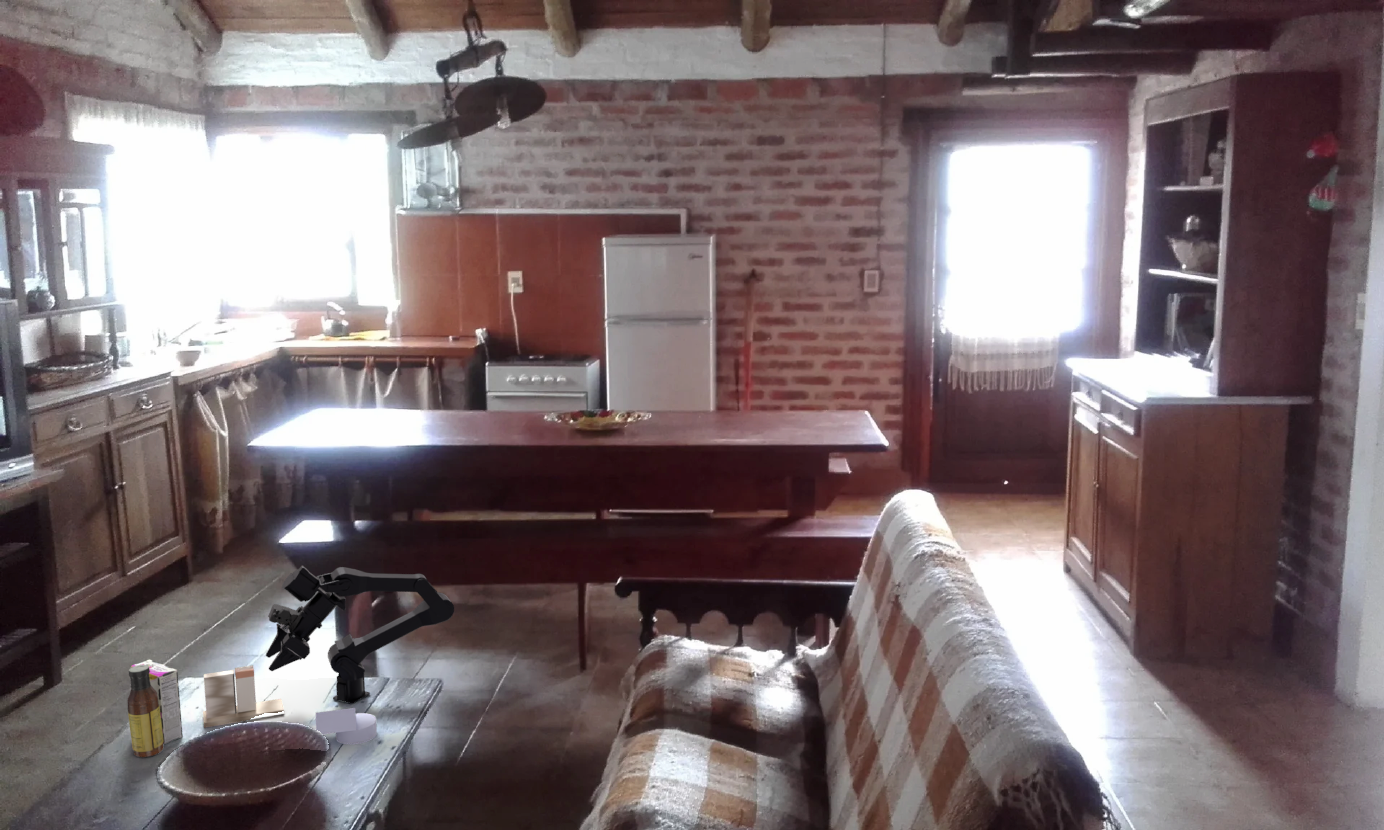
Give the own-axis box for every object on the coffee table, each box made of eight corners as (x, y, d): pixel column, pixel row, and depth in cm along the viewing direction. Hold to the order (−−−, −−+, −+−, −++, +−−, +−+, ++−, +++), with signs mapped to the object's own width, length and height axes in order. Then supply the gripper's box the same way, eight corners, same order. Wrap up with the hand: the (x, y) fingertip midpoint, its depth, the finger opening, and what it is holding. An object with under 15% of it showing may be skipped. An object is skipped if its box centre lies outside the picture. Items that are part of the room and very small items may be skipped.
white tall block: (255, 704, 263) (253, 665, 261) (256, 709, 260) (253, 669, 259) (237, 707, 261) (234, 667, 260) (238, 712, 259) (235, 672, 257)
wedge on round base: (317, 749, 244) (377, 741, 248) (315, 720, 243) (376, 713, 247) (317, 731, 252) (375, 724, 256) (315, 704, 251) (374, 697, 255)
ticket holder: (281, 702, 268) (279, 659, 266) (284, 714, 261) (281, 669, 259) (203, 715, 260) (200, 671, 258) (204, 727, 254) (200, 681, 252)
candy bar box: (134, 733, 251) (128, 665, 248) (155, 725, 255) (149, 658, 253) (163, 745, 245) (157, 676, 242) (183, 737, 249) (178, 668, 247)
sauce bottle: (158, 743, 246) (151, 659, 243) (168, 752, 242) (162, 666, 239) (127, 752, 242) (120, 667, 239) (137, 762, 237) (129, 675, 234)
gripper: (285, 581, 269) (239, 631, 266) (292, 604, 253) (243, 657, 250) (320, 608, 274) (275, 656, 271) (329, 632, 257) (282, 684, 254)
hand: (268, 663), depth 261 cm, fingers open, 9 cm apart
